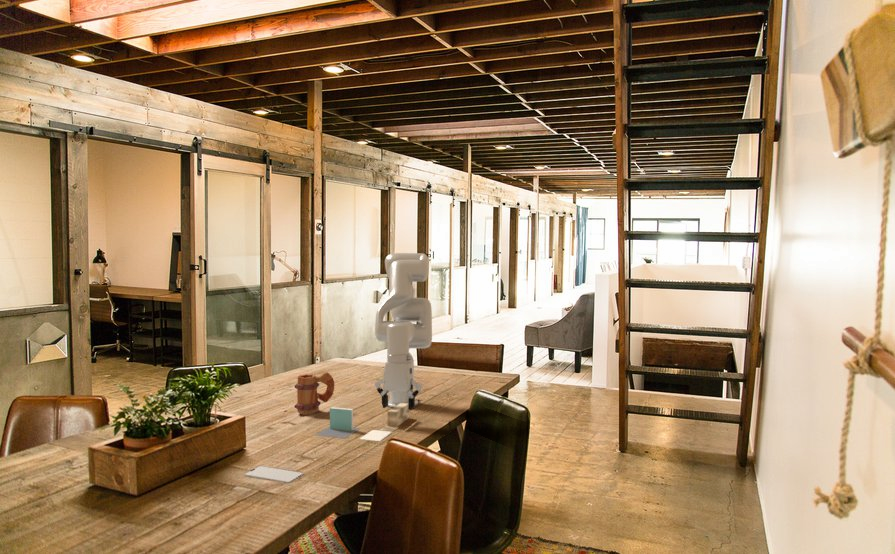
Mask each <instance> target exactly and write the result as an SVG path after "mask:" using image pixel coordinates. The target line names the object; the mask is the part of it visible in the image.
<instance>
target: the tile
mask: <svg viewBox="0 0 895 554" xmlns="http://www.w3.org/2000/svg"><path fill="white" fill-rule="evenodd" d="M329 426H330V429H336V430H346V431H352V430H353V427H354V409H353V408H347V407H346V408H345V407H333V406H332V407H329Z"/></svg>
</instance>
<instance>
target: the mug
mask: <svg viewBox="0 0 895 554" xmlns="http://www.w3.org/2000/svg"><path fill="white" fill-rule="evenodd" d="M320 383H322V384H324V385H326V390H325V391H324V392H323V393H319V392H318V388H319V386H320ZM294 388H295V389H296V390H297V392H296V393H297V398H296V399H297V400H296V401H297V403H296V404H294V408H295V409H296V410H297V413H298V414H300V415H302V416H309V415H313V414H316V413H317V412H319V410H320V409H319V407H320V405H321V401H322V402H323V403H328V401H329V400H330V399H331V397H332V396H333V395H334V391H335V381H334V378H333V377H332V375H331V374H330V373H329V372H328V371H325V372H323V373H321V374H320V375H318V376H316V375H315V374H300V375H298V376H297V383H296V384H295V385H294ZM319 400H320V401H319Z"/></svg>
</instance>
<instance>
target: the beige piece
mask: <svg viewBox="0 0 895 554" xmlns="http://www.w3.org/2000/svg"><path fill="white" fill-rule="evenodd" d="M409 411H410V410H409V404H407V403H400V404H398V405H397V406H395V407H391V409H389V410H388V411H387V425H384V426H383V427H382V428H380V429H379V431H389V432H392V433H393V432H395V431H396V430H398V429H399V427H400V426H401V425H402V424H403V423H404V422H406V421H407V420H408V419H409V418H410V417H409V415H410V413H409Z"/></svg>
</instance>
